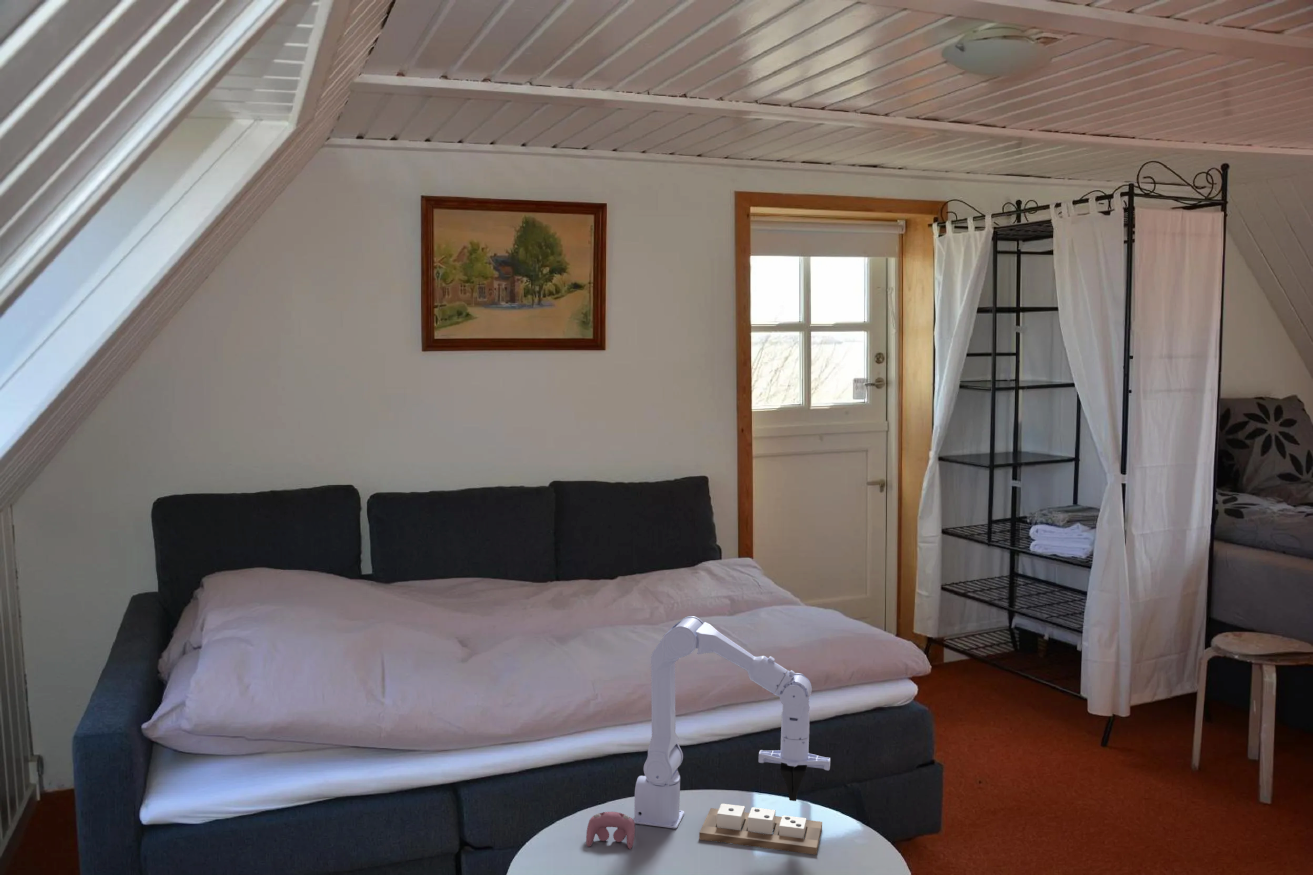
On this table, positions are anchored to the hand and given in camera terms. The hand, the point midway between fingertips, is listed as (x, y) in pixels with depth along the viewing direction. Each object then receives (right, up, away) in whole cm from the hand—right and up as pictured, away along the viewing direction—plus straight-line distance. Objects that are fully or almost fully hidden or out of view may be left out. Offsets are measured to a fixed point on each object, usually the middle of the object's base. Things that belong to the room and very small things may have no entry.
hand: (793, 798), depth 219 cm
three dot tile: (0, -8, +1) cm, 8 cm away
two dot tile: (-6, -7, +2) cm, 9 cm away
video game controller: (-38, -8, -2) cm, 39 cm away
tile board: (-6, -8, +2) cm, 11 cm away
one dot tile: (-13, -7, +4) cm, 15 cm away
